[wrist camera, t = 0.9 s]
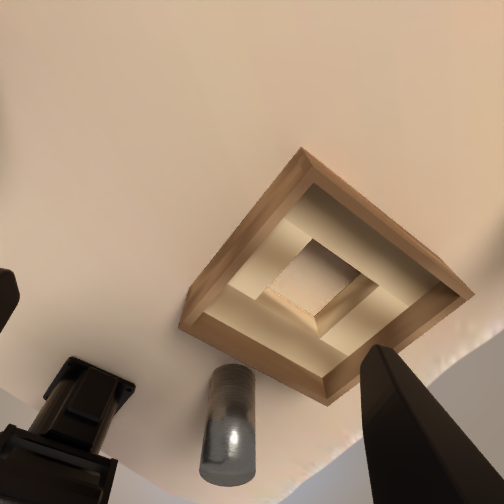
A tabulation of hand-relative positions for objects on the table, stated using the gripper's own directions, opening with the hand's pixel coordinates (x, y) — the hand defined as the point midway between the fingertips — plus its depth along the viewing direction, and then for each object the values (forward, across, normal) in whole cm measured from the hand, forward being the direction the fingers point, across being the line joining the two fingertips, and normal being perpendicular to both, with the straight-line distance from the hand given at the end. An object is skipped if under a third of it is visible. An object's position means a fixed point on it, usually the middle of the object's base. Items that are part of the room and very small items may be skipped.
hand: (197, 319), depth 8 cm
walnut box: (+14, -7, +8) cm, 18 cm away
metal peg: (+12, -3, +21) cm, 25 cm away
